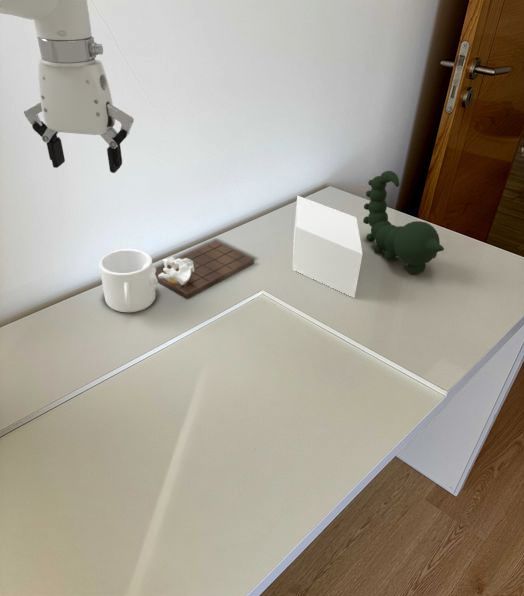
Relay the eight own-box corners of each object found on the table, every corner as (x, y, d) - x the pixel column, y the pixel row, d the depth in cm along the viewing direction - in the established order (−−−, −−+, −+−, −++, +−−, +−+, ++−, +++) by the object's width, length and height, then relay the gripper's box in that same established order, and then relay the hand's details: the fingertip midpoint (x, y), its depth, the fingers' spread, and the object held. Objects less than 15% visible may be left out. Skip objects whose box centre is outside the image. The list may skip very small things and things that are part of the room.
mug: (160, 320, 99) (156, 279, 94) (104, 324, 98) (96, 283, 92) (158, 286, 108) (155, 247, 103) (107, 289, 107) (100, 249, 101)
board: (187, 299, 105) (186, 293, 104) (148, 276, 111) (147, 271, 110) (254, 263, 117) (254, 258, 116) (215, 245, 123) (215, 240, 122)
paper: (320, 231, 131) (324, 191, 124) (384, 292, 110) (394, 248, 104) (266, 240, 126) (268, 199, 120) (323, 305, 106) (329, 259, 99)
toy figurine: (350, 246, 129) (418, 290, 110) (358, 167, 118) (435, 201, 99) (381, 240, 132) (452, 281, 114) (392, 162, 121) (472, 194, 103)
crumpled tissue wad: (162, 250, 110) (194, 249, 110) (165, 268, 113) (196, 267, 112) (156, 270, 104) (190, 268, 103) (159, 288, 106) (192, 287, 106)
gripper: (133, 50, 79) (144, 164, 90) (22, 42, 80) (47, 155, 91) (116, 60, 73) (130, 180, 84) (-3, 51, 74) (26, 171, 85)
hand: (87, 167), depth 88 cm, fingers open, 9 cm apart
